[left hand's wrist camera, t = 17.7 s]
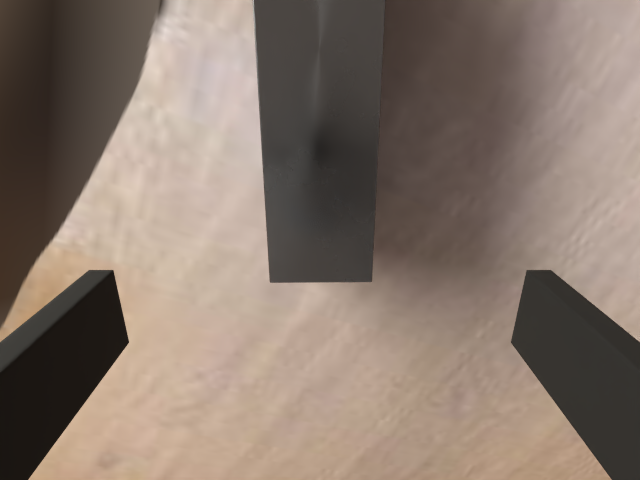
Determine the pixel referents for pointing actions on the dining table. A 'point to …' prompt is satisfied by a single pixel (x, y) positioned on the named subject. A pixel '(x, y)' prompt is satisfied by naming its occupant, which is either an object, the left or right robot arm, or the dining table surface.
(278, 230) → the box
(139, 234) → the dining table surface
